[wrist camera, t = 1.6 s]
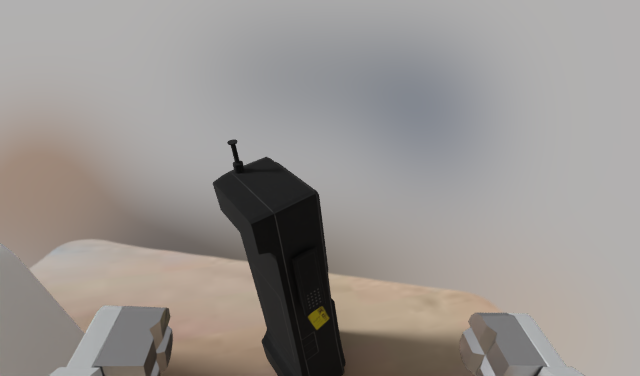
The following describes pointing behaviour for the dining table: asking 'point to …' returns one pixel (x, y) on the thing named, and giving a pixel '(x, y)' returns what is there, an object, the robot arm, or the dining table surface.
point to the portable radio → (285, 264)
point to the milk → (31, 323)
